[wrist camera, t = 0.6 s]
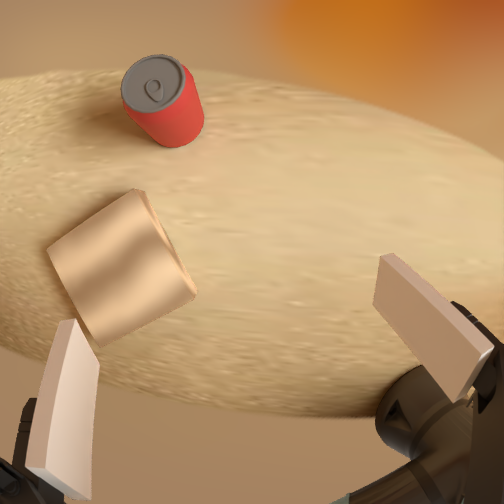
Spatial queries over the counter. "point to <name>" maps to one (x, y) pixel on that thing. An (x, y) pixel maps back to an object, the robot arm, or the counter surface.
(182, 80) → the beer can
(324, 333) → the counter surface
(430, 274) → the counter surface
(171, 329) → the counter surface
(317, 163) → the counter surface
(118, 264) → the maple base
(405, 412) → the robot arm
